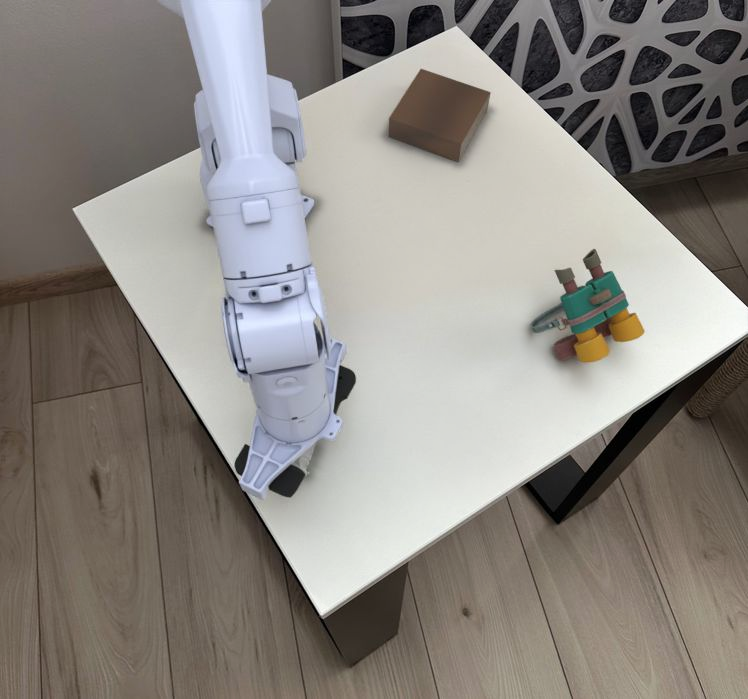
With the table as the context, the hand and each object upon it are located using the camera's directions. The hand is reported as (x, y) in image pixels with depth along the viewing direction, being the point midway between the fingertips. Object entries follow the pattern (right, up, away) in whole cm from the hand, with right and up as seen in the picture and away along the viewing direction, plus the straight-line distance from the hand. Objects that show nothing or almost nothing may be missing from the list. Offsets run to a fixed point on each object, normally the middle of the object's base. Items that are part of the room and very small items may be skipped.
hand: (303, 450), depth 70 cm
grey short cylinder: (0, -1, +2) cm, 2 cm away
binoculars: (+27, +10, +8) cm, 30 cm away
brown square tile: (+14, +36, +22) cm, 44 cm away
